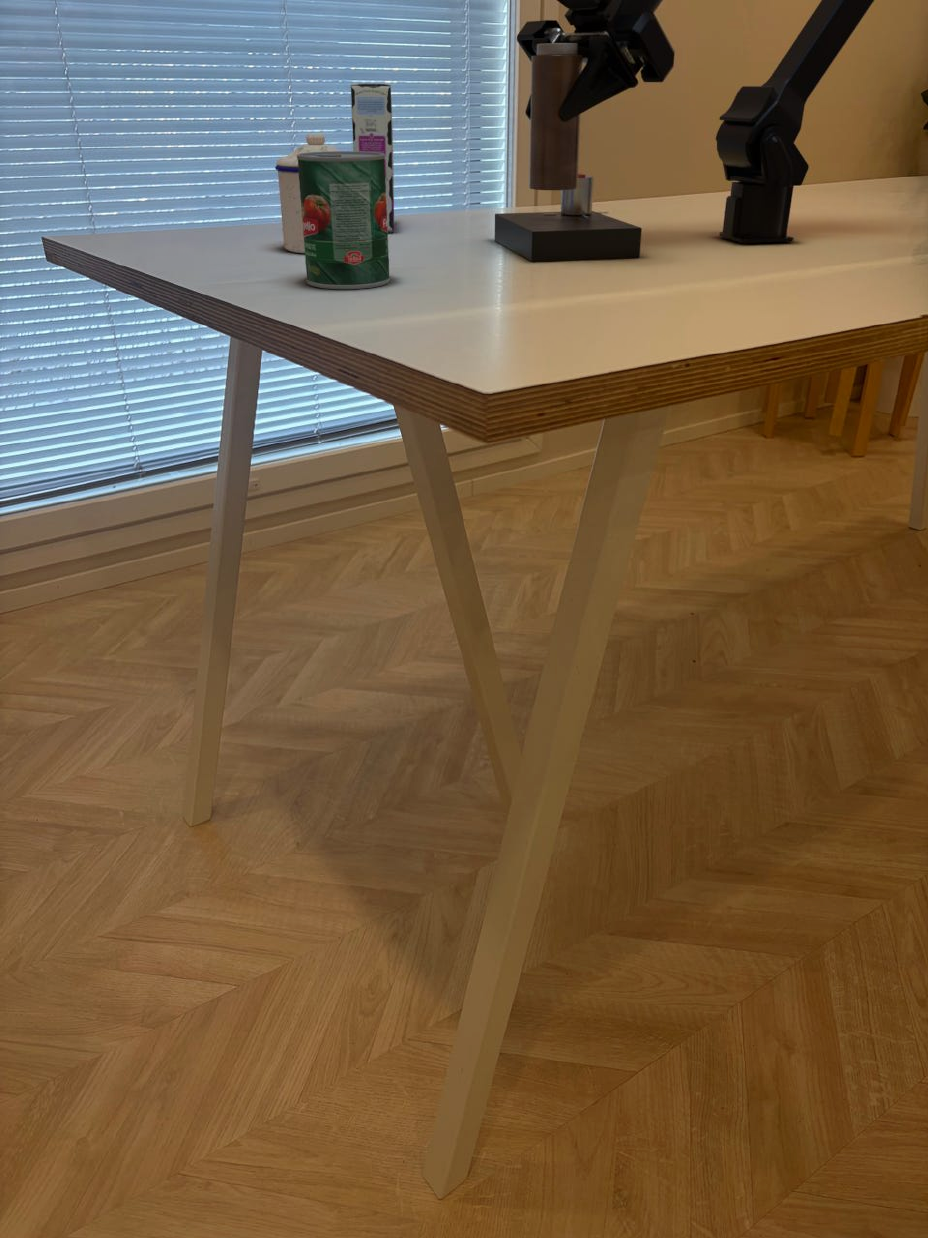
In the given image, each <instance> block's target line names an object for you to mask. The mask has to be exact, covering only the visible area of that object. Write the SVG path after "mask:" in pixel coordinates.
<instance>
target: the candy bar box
mask: <svg viewBox="0 0 928 1238" xmlns="http://www.w3.org/2000/svg"><path fill="white" fill-rule="evenodd" d="M349 88H350V105H351V106H350V107H351V123H352V124H351V125H352V126H351V128H352V129H351V130H352V151H363V152H379V153H384V154H385V175H386V179H385V182H386V203H387V223H388V225H387V230H388V233H394V231H395V191H394V189H395V183H394V181H395V180H394V176H395V175H394V173H395V172H394V171H395V170H394V135H393V132H394V131H393V103H392V86H391V84H387V83H352V84H350V87H349Z"/></svg>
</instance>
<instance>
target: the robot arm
mask: <svg viewBox="0 0 928 1238" xmlns="http://www.w3.org/2000/svg"><path fill="white" fill-rule="evenodd" d="M556 1H557V2H558V3H560V4H561V5H562V6H563V7H565V8H566V9H568V10H567V11H566V12H565V14H564V18H565V20H566V21H567V22H568V24H569V25H570V26H573V27H574V29H575V30H574V31H573V32H565V31H564V30H563V28H562V27H561V25H560V24H559V22H558V20H557V19H544V20H531V21H530V20H529V21H526V22H525V24H524V25H523V26H522V28H521V29H520V31H519V32H518V34H517V35H516V42H517V43H518V45H519V46H520V48H521V49H522V51H523V52H524V53H525V55H526V56H527V58H528V60H529V61H530V63H532V56H537V44H547V43H577V44H578V54H577V55H582V56H583V59H582V64H585V65H584V66H583V67H582V72H581V74H580V75H579V77H578V79H577V80H576V82H575V84H574V85H573V87H572V89H571V90H570V92H569V94H568V96H567V97H566V99H565V101H564V103H563V105H562V107H561V109H560V111H559V117H560V118H561V120H562V121H563V122H567V121H569V120H570V119H572V118H574V117H576V116H578V115H579V114H580V115H581V114H583V113H585V112H587V111H588V110H590V109H592V108H594V107H596V106H597V105H600V104H602V103H603V102H605V101H607V100H609V99H611V98H613V97H615V96H618V95H620V94H621V93H623V92H625V91H627V90H629V89H634V88H636V87H637V86H638V85H639V80H638V78H637V77H636V76H637V75H638V73H639V72H640V77H641V80H642V81H643V83H663V82H664V81H665V80H666V78H667V77H668V75H669V74H670V73H671V71H672V70H673V69H674V67H675V56H676V55H675V54H676V53H675V49H674V48H673V46H672V44H671V41H670V40H669V38H668V37H667V34H666V33H665V31H664V29H663V27H662V26H661V23H660V22H659V20H658V18H657V16H656V14H655V12H656V11H657V10H658V8H659V6H660V5H661V4H662V3H663V1H664V0H556ZM874 2H875V0H820V2H819V3H818V5H817V6H816V8H815V10H814V11H813V13H812V14H811V15H810V17H809V18H808V19H807V22H806V23H805V25H804V26H803V27H802V29H801V30H800V32H799V34H798V35H797V37H796V38H795V39H794V41H793V43H792V44H791V45H790V48H789V49H788V50H787V52H786V53H785V54H784V56H783V57H782V59H781V60H780V62H779V63H778V65H777V67H776V68H775V70H774V71H773V73H772V74H771V75H770V77H769V79H767V81H766V82H764V83H763V84H762V85H753V86H752V85H748V86H747V85H743V86H741V87H740V89H738V91H737V93H736V95H735V96H734V99H733V100H732V102H731V105H730V106H729V108H728V109H727V110H726V111H725V112H724V113H723V114H722V115H720V116H719V118H718V120H720V121H722V123H721V124H720V126H719V128H718V130H717V132H716V135H715V141H716V151H717V155H718V158H719V159H720V161H721V162H722V166H723V167H722V168H723V171H724V177H725V181H728V182H731V187H730V195H728V196H726V199H725V205H724V206H725V207H724V217H723V225H722V231H720V232H719V237H720V238H724V239H726V240H727V239H728V240H730V241H734V242H737V243H740V244H762V243H764V244H765V243H789V242H791V243H792V242H794V236H789V235H788V228H789V220H790V215H791V208H792V201H793V194H794V187H796V186H799V187H800V186H802V185H803V183H804V180H805V178H806V176H807V173H808V171H809V168H810V165H809V164H808V162H807V161H806V159H805V158H804V156H803V154H802V153H801V151H800V149H799V148H798V147H797V145H796V143H795V142H796V140H797V138H798V136H799V134H800V132H801V131H802V130H801V129H802V125H803V119H804V111H805V107H806V104H807V102H808V99H809V97H810V96H811V95H812V94H813V92H814V90H815V89H816V87H817V86H818V85H819V83H820V81H821V80H822V78H823V77H824V75H825V74H826V73H827V71H828V69H829V68H830V66H831V65H833V62H835V59H836V58H837V57H838V55H839V53H840V52H841V50H842V49H843V47H844V46H845V44H846V43H847V41H848V40H849V38H851V36H852V35H853V33H854V31H855V29H856V28H858V26H859V24H860V22H861V21H862V20H863V18H864V17H865V15H866V14H867V13H868V11H869V9H870V8H871V6H872V5H873V3H874ZM524 113H525V116H526V117H527V118H528V120H529V121H530V120H531V94H530V96H529V98H528V102H527V105H526V108H525V112H524Z"/></svg>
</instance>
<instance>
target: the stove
mask: <svg viewBox="0 0 928 1238" xmlns="http://www.w3.org/2000/svg"><path fill="white" fill-rule="evenodd" d="M609 213H610V212H609V211H595V210H594V211H593V210H592V214H590V215H582V216H571V215H563V214H561V211H540V212H539V211H538V212H537V211H536V212H535V211H534V212H505V213H504V212H503V213H494V241H495V242H496V243H498V244H500V245H501V246H503V247H504V248H507V249H508V250H510V251H511V252H513V253H515V254H516V255H519V256H520V257H522V258H524V259H525V260H527V261H529V262H531V263H542V262H543V263H544V262H565V261H567V262H568V261H569V262H570V261H590V260H616V259H619V260H620V259H640V255H641V243H642V231H643V229H642V227H640V226H637V225H634V224H631V223H628V222H626V221H623V220H621V219H617V218H614V217H611V216H608V215H607V214H609Z"/></svg>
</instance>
